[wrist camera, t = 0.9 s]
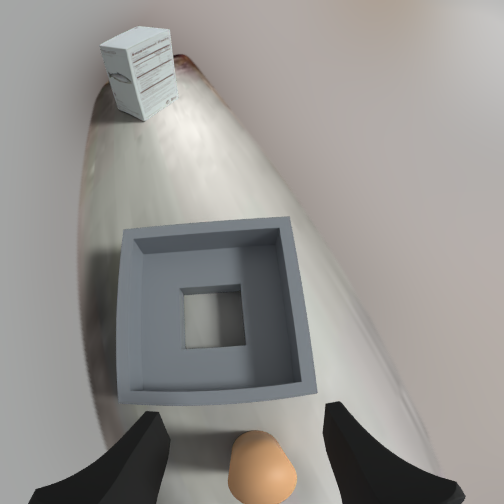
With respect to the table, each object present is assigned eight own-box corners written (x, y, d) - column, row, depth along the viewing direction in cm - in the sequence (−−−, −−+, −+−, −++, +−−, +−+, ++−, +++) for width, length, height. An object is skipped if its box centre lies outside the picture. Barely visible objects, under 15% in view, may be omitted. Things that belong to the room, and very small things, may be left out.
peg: (281, 468, 19) (299, 502, 12) (234, 473, 19) (232, 509, 11) (277, 427, 21) (293, 448, 13) (229, 432, 20) (224, 455, 13)
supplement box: (117, 110, 38) (97, 44, 26) (152, 87, 40) (139, 24, 29) (143, 123, 36) (124, 48, 24) (180, 98, 38) (171, 27, 27)
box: (302, 391, 22) (317, 393, 18) (140, 400, 21) (118, 403, 17) (281, 244, 28) (289, 216, 24) (140, 254, 27) (123, 229, 23)
